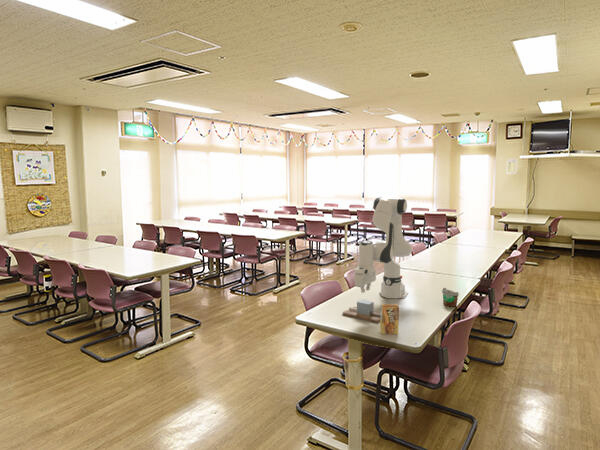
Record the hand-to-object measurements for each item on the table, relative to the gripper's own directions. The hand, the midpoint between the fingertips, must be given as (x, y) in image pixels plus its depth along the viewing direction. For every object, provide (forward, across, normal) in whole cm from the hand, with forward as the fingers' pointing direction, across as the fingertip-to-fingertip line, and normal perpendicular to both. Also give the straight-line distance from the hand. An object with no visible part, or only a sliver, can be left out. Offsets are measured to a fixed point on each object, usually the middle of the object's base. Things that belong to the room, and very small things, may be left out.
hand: (365, 291), depth 232 cm
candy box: (+15, +16, +23) cm, 32 cm away
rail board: (+15, 0, 0) cm, 15 cm away
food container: (+15, -50, +33) cm, 62 cm away
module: (+14, 0, 0) cm, 14 cm away
